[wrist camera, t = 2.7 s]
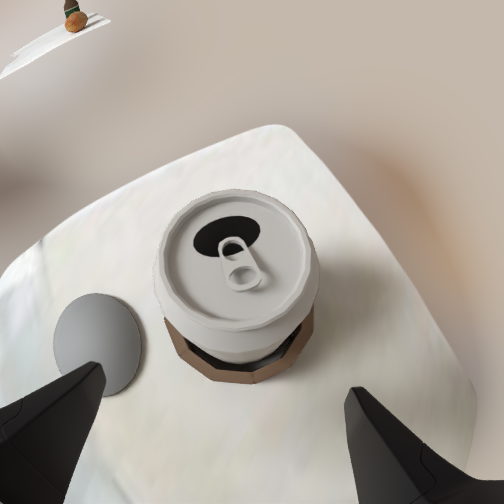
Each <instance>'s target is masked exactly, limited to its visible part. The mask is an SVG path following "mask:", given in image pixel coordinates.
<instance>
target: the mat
mask: <svg viewBox="0 0 504 504" xmlns="http://www.w3.org/2000/svg"><path fill="white" fill-rule="evenodd" d="M53 349H54V356H55V360H56V364H57V366H58V369H59V371H60V373H61V374H62V376H64V375H66V374H67V373H69V372H71V371H73V370H75V369H76V368H78V367H80V366H82V365H84V364H85V363H87V362H89V361H95V362H99V363H101V365H102V367H103V370H104V373H105V376H106V380H107V382H106V386H105V389H104V392H103V395H102V397H105V396H110V395H113V394H115V393H117V392H119V391H121V390H122V389H123V388H124V387H126V386H127V385H128V383H129V382H130V381H131V380H132V378H133V377H134V375H135V373H136V371H137V369H138V365H139V362H140V357H141V338H140V332H139V329H138V326H137V324H136V321H135V319H134V318H133V316H132V314H131V313H130V312H129V310H128V309H127V308H126V307H125V306H124V305H123V304H122V303H120V302H119V301H118V300H116V299H114V298H113V297H110V296H108V295H104V294H98V293H94V294H87V295H84V296H81V297H79V298H77V299H75V300H74V301H73V302H71V303H70V304H69V305H68V306H67V307H66V308H65V310H64V311H63V312H62V314H61V316H60V318H59V320H58V322H57V325H56V328H55V332H54V338H53Z"/></svg>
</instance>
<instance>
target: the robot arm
mask: <svg viewBox="0 0 504 504" xmlns="http://www.w3.org/2000/svg"><path fill="white" fill-rule="evenodd" d="M106 382H107V380H106V376H105V373H104V370H103V367H102V365H101V363H99V362H95V361H89V362H87V363H85V364H84V365H82V366H80V367H78V368H76V369H75V370H73V371H71V372H69V373H67V374H66V375H64V376H62V377H60V378H58V379H56V380H55V381H53V382H51V383H49V384H47V385H45V386H44V387H42V388H40V389H38V390H36V391H34V392H32V393H31V394H29V395H27V396H25V397H24V398H21V399H19V400H17V401H15V402H13V403H11V404H9V405H7V406H5V407H3V408H0V504H63V503H64V500H65V496H66V493H67V490H68V487H69V484H70V481H71V479H72V476H73V473H74V470H75V467H76V465H77V462H78V459H79V457H80V454H81V452H82V449H83V447H84V444H85V442H86V439H87V437H88V434H89V432H90V429H91V427H92V425H93V422H94V420H95V417H96V415H97V412H98V409H99V405H100V402H101V399H102V395H103V392H104V389H105V386H106ZM344 411H345V422H346V433H347V443H348V448H349V453H350V458H351V463H352V468H353V473H354V478H355V484H356V489H357V495H358V500H359V504H504V480H478V479H475V478H473V477H471V476H469V475H467V474H466V473H464V472H463V471H461V470H460V469H458V468H457V467H455V466H454V465H452V464H451V463H449V462H448V461H446V460H445V459H443V458H442V457H441V456H439V455H438V454H437V453H436V452H434V451H433V450H432V449H431V448H430V447H429V446H427V445H426V444H425V443H423V441H422V440H421V439H419V438H418V437H417V436H416V435H415V434H414V433H413V432H412V431H411V430H409V429H408V428H407V427H406V426H405V425H404V424H403V423H402V422H401V421H399V420H398V419H397V418H396V417H395V416H394V415H393V414H392V413H391V412H390V411H388V410H387V409H386V408H385V407H384V406H383V405H382V404H381V403H380V402H379V401H378V400H377V399H375V398H374V397H373V396H372V395H371V394H370V393H369V392H368V391H367V390H366V389H365V388H363V387H361V386H359V387H352V388H351V389H350V390H349V393H348V395H347V398H346V400H345V403H344Z"/></svg>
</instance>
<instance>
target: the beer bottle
mask: <svg viewBox="0 0 504 504" xmlns="http://www.w3.org/2000/svg"><path fill="white" fill-rule="evenodd" d="M65 1H66V2H65V5H64V11H65V15H66V19H67V18H68V17H69V16H70V15H71V14H72V13H74V12H77V11H80V9H79V5H78V2H77V1H76V0H65Z"/></svg>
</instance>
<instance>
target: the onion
mask: <svg viewBox="0 0 504 504" xmlns="http://www.w3.org/2000/svg"><path fill="white" fill-rule="evenodd" d="M87 20H88V18H87V16H86V14H84V13H83V12H80V11H77V12H74V13H72V14H71V15H70V16H69V17H68V18H67V20H66V23H65V28H66V30H67V31H69V32H78V31H80V30H81V29H83V28H84V27H85V25H86V23H87Z"/></svg>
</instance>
